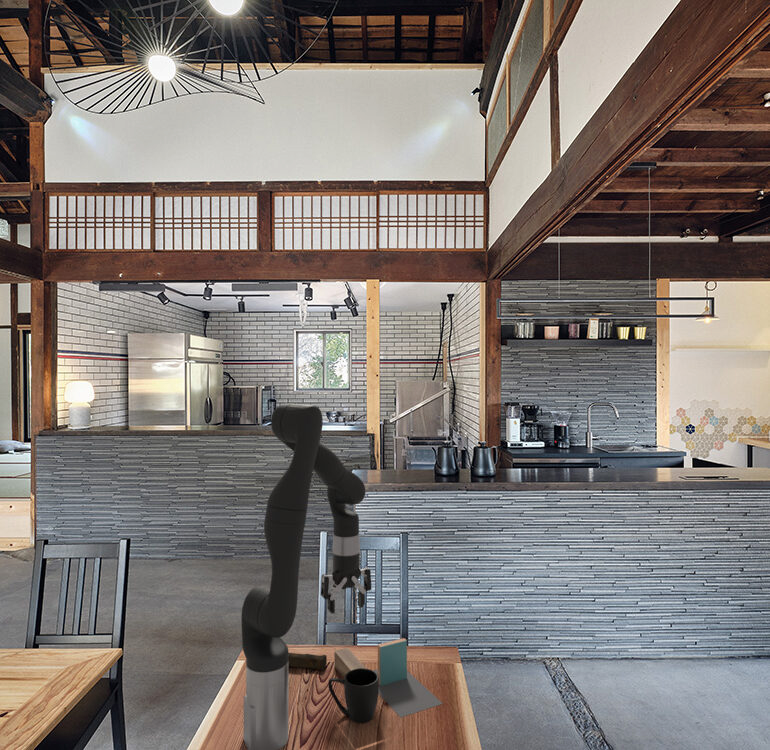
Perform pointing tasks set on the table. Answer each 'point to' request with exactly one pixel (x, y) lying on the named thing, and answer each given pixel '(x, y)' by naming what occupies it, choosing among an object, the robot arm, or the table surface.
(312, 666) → the hand tool
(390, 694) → the rubber mat
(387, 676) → the tile
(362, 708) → the mug
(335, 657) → the tan wooden bar
